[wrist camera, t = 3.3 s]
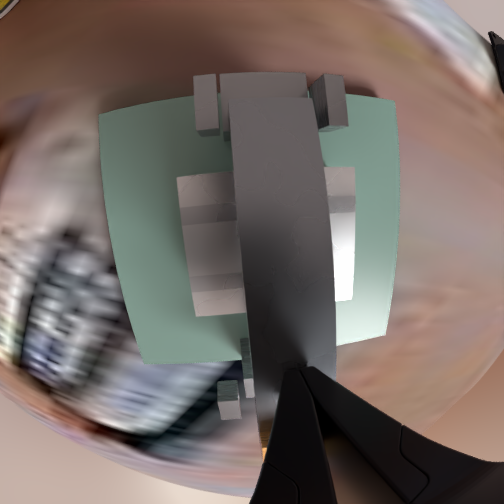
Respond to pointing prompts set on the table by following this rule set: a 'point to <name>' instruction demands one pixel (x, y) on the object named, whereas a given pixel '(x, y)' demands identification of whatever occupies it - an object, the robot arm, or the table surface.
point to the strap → (283, 244)
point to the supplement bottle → (6, 6)
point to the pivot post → (268, 85)
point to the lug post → (236, 387)
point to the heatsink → (227, 238)
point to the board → (171, 235)
